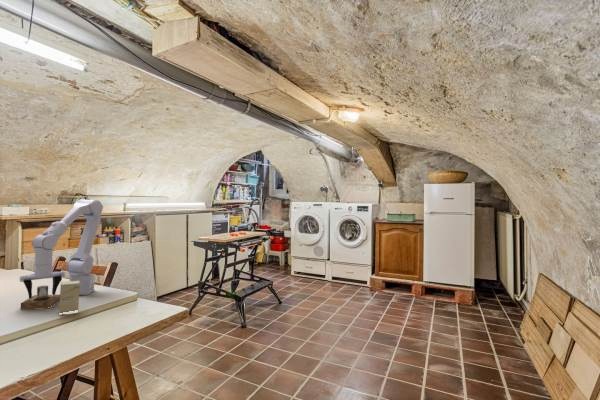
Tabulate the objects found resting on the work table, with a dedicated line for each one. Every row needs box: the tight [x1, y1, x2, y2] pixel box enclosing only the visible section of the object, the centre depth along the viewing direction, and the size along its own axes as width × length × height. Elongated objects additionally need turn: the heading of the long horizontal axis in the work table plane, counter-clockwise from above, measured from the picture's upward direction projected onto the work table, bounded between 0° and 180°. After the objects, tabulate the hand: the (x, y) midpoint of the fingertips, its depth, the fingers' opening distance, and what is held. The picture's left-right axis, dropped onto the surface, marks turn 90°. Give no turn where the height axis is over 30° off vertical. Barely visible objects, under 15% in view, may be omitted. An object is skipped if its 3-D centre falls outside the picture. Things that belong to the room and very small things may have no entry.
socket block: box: [20, 294, 60, 310], centre depth 134 cm, size 10×10×2 cm
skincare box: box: [58, 280, 80, 314], centre depth 127 cm, size 6×4×12 cm
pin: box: [36, 285, 49, 301], centre depth 133 cm, size 4×4×7 cm
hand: (42, 295), depth 134 cm, fingers open, 7 cm apart
